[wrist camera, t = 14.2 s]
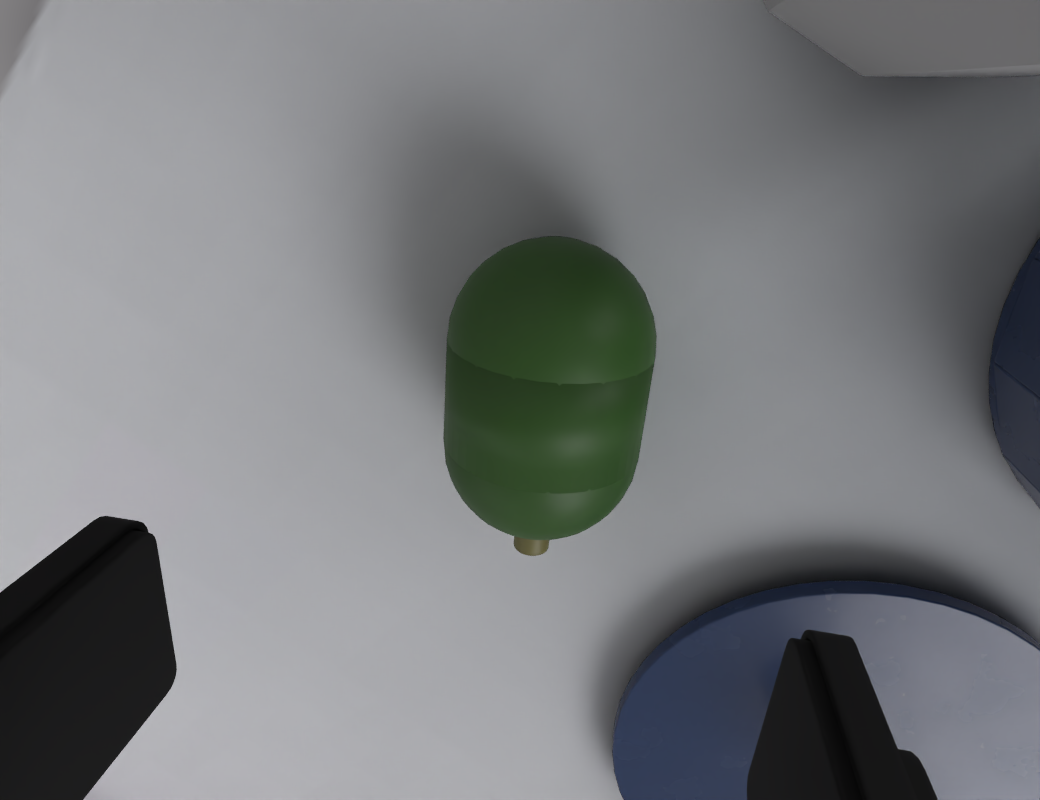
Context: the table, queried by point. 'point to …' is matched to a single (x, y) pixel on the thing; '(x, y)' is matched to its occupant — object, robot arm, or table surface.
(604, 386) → the squash
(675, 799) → the pot lid
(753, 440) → the table surface
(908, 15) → the jar
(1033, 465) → the pot
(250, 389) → the table surface
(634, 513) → the table surface
